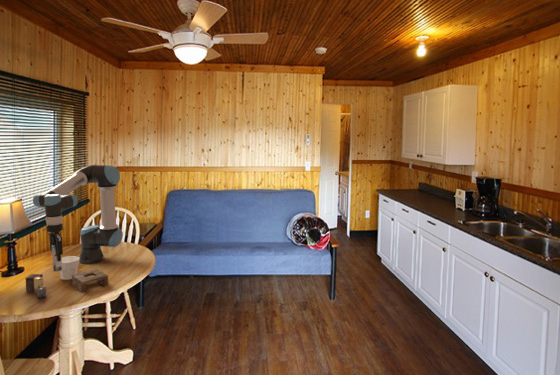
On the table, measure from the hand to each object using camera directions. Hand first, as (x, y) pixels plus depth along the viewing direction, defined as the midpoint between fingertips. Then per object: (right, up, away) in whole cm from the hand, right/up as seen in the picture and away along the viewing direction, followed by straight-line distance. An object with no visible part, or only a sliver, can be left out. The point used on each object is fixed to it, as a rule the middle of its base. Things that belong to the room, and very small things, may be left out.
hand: (57, 265), depth 206 cm
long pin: (0, -3, 0) cm, 3 cm away
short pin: (-4, -15, -8) cm, 17 cm away
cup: (-5, -12, +20) cm, 24 cm away
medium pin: (-9, -14, -2) cm, 17 cm away
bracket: (+13, -13, +9) cm, 21 cm away
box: (-14, -14, +3) cm, 20 cm away
